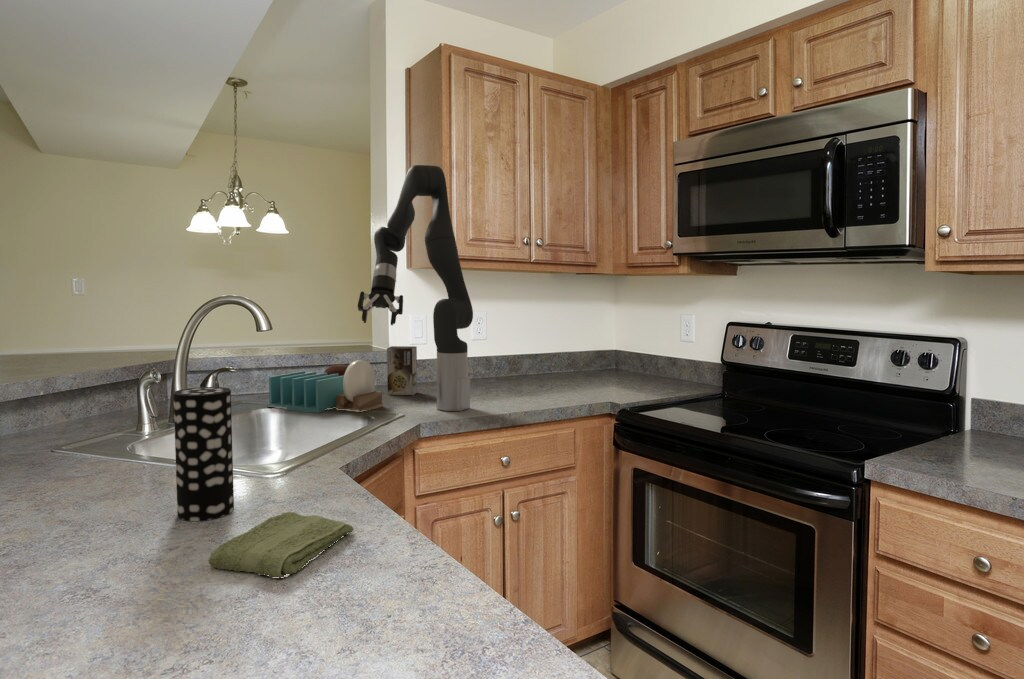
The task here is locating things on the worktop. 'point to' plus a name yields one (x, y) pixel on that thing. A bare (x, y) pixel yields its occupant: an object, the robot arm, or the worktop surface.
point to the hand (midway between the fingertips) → (378, 323)
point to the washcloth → (279, 544)
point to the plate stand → (361, 401)
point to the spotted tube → (203, 453)
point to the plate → (358, 379)
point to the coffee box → (402, 370)
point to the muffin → (336, 369)
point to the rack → (305, 391)
